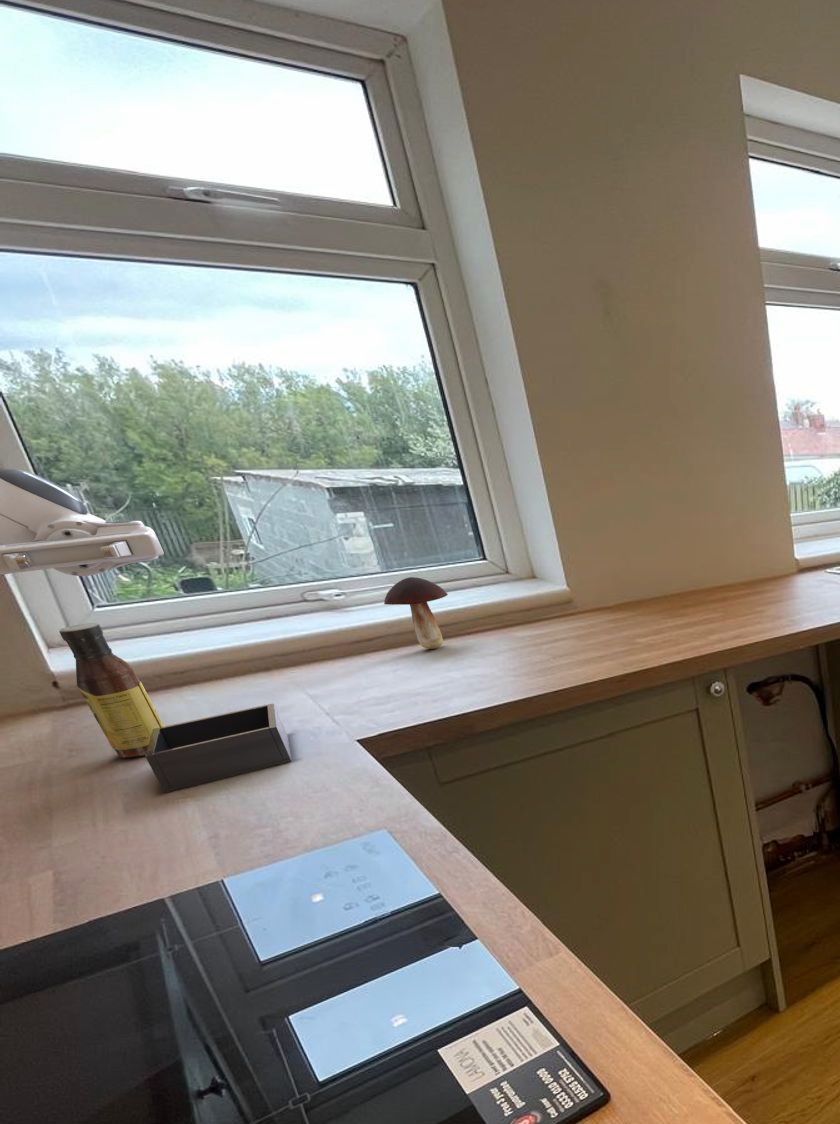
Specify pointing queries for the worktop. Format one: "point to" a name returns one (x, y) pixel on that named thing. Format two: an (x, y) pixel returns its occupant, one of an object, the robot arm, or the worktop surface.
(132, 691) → the sauce bottle
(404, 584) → the decorative mushroom
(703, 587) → the worktop surface
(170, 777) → the open rectangular box
